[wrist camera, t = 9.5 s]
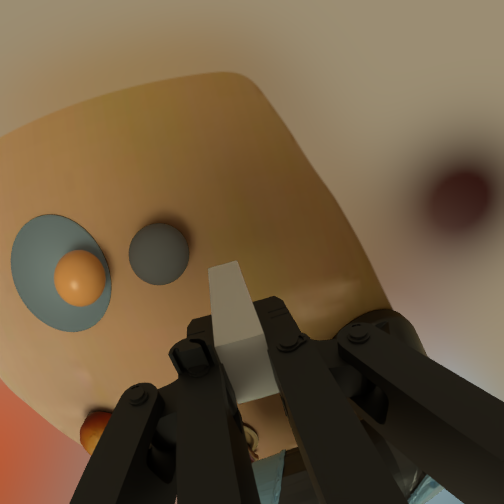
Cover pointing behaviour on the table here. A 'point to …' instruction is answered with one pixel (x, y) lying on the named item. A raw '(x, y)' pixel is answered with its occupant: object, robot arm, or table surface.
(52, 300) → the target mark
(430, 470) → the robot arm
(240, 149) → the table surface
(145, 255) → the dark grey ball
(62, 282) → the orange ball
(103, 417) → the fruit
